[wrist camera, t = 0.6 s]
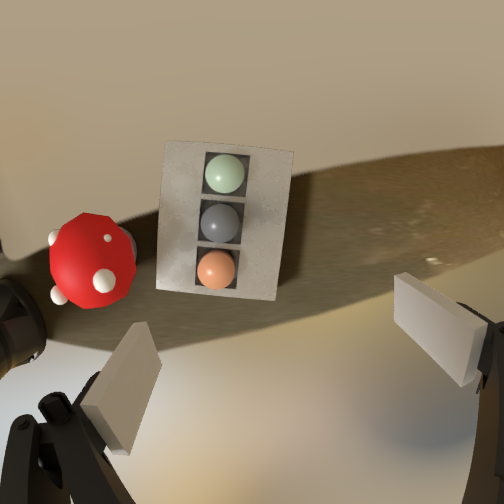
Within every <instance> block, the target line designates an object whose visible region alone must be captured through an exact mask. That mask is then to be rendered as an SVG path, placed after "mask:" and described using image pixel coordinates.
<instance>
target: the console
mask: <svg viewBox="0 0 504 504" xmlns="http://www.w3.org/2000/svg"><path fill="white" fill-rule="evenodd" d="M293 153H294V152H291V151H284V150H276V149H269V148H261V147H252V146H242V145H232V144H220V143H206V142H189V141H166V142H165V151H164V160H163V170H162V180H161V191H160V205H159V220H158V240H157V278H156V289H162V290H170V291H179V292H188V293H197V294H206V295H216V296H226V297H236V298H248V299H259V300H272V301H275V297H276V290H277V283H278V276H279V269H280V261H281V254H282V246H283V239H284V231H285V223H286V215H287V207H288V198H289V190H290V181H291V172H292V163H293ZM224 154H225V155H231V156H234V157H236V158H237V159H238V160H239V161H240V162H241V163H242V165H243V167H244V173H245V174H244V180H243V182H242V184H241V185H240V187H239V188H237V189H236V190H234V191H232V192H229V193H220V192H217V191H215V190H213V189H212V188H211V187H210V186H209V185H208V183H207V181H206V177H205V172H206V167H207V165H208V164H209V162H210V161H211V160H212V159H213V158H215V157H216V156H219V155H224ZM218 203H224V204H228V205H230V206H232V207H233V208H234V209H235V210H236V212H237V213H238V216H239V229H238V232H237V234H236V235H235V236H234V237H233V238H232V239H231V240H229V241H227V242H224V243H216V242H213V241H211V240H209V239H208V238H207V237H206V236H205V235H204V234H203V232H202V229H201V218H202V216H203V214H204V212H205V211H206V210H207V209H208V208H210V207H211V206H213V205H215V204H218ZM214 249H219V250H223V251H226V252H227V253H229V254H230V255H231V257H232V258H233V260H234V263H235V272H234V278H233V280H232V282H231V283H230V284H229V285H228V286H227V287H225V288H222V289H217V290H216V289H210V288H208V287H206V286H205V285H203V284H202V282H201V281H200V280H199V277H198V273H197V269H198V265H199V263H200V261H201V259H202V257H203V256H204V255H205V254H206V253H207V252H209V251H211V250H214Z"/></svg>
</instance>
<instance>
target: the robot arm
mask: <svg viewBox="0 0 504 504" xmlns="http://www.w3.org/2000/svg"><path fill="white" fill-rule="evenodd" d="M394 295H395V296H394V321H395V322H396V323H397V324H398V325H399V326H400V327H401V328H402V329H403V330H404V331H405V332H406V333H407V334H408V335H409V336H410V337H411V338H412V339H413V340H414V341H415V342H416V343H418V344H419V345H420V346H421V347H422V348H423V349H424V350H425V351H426V352H427V353H428V354H429V355H430V356H431V357H432V358H433V359H434V360H435V361H436V362H437V363H438V364H439V365H440V366H441V367H442V368H443V369H444V370H445V371H446V372H447V373H448V374H449V375H450V377H452V379H453V380H455V382H456V383H457V384H458V385H459V386H460V387H463V386H465V385H466V384H468V383H470V382H472V381H474V378H475V375H476V371H477V369H478V370H480V371H481V372H482V376H481V379H480V382H479V385H478V388H477V391H476V394H478V392H479V390H480V397H479V412H478V422H477V431H476V438H475V446H474V451H473V457H472V463H471V468H470V473H469V478H468V481H467V485H466V490H465V493H464V497H463V500H462V504H504V321H503V322H499V323H497V324H495V323H494V322H492V321H491V320H489V319H487V318H486V317H485V316H483V315H481V314H480V313H479V314H478V312H477V311H475V310H473V309H472V308H470V307H469V306H467V305H465V304H462V303H459V302H454V301H453V300H451V299H449V298H448V297H446V296H445V295H443V294H441V293H440V292H438V291H436V290H435V289H433V288H431V287H430V286H428V285H426V284H425V283H423V282H421V281H420V280H418V279H416V278H415V277H413V276H411V275H410V274H408V273H406V272H405V273H401V274H397V275H394ZM45 346H46V330H45V325H44V322H43V319H42V316H41V314H40V312H39V310H38V308H37V306H36V304H35V303H34V301H33V299H32V298H31V297H30V295H29V294H28V293H27V292H26V291H25V290H24V289H23V288H22V287H21V286H20V285H19V284H17V283H16V282H14V281H12V280H8V279H2V280H0V379H1V378H2V377H3V376H4V375H5V374H6V373H7V372H8V371H9V370H10V369H12V368H15V367H17V366H20V365H23V364H26V363H29V362H32V361H34V360H35V359H36V358H37V357H39V356H40V355H41V354H42V352H43V351H44V349H45ZM161 366H162V364H161V361H160V358H159V356H158V353H157V350H156V348H155V345H154V342H153V339H152V336H151V334H150V331H149V328H148V325H147V322H138V323H133V325H132V326H131V327H130V329H129V330H128V332H127V333H126V335H125V336H124V338H123V339H122V341H121V342H120V343H119V345H118V346H117V348H116V349H115V351H114V352H113V354H112V355H111V357H110V358H109V360H108V361H107V363H106V364H105V366H104V367H103V369H102V371H98V372H96V373H95V374H94V375H93V376H92V377H90V379H89V380H88V381H87V383H86V386H84V388H83V389H82V392H80V394H79V395H78V397H77V398H76V400H75V401H74V403H73V404H72V405H71V403H70V401H69V400H68V398H67V396H66V395H65V393H62V392H53V393H50V394H48V395H46V396H45V397H43V398H42V399H41V401H40V402H39V404H38V409H39V410H40V412H41V413H42V415H43V416H44V417H45V419H46V421H47V423H37V421H36V420H35V419H34V417H33V416H32V415H29V414H25V415H22V416H19V417H17V418H16V419H15V420H14V421H13V423H12V425H11V428H10V433H9V437H8V441H7V446H6V451H5V457H4V463H3V468H2V475H1V483H0V504H71V500H70V495H71V498H72V500H73V503H74V504H136V503H135V502H134V500H133V499H132V498H131V496H130V494H129V493H128V491H127V490H126V488H125V487H124V485H123V483H122V482H121V480H120V479H119V477H118V475H117V474H116V472H115V470H114V468H113V466H112V464H111V463H110V461H109V459H108V457H107V456H106V455H105V453H104V449H105V447H106V445H107V447H108V448H109V449H110V450H111V452H112V453H113V454H116V455H117V454H118V455H128V456H129V455H130V452H131V450H132V447H133V443H134V441H135V438H136V435H137V432H138V429H139V426H140V423H141V421H142V417H143V415H144V412H145V409H146V407H147V404H148V401H149V398H150V396H151V393H152V390H153V387H154V385H155V382H156V380H157V377H158V374H159V372H160V369H161Z"/></svg>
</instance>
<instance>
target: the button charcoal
mask: <svg viewBox="0 0 504 504" xmlns="http://www.w3.org/2000/svg"><path fill="white" fill-rule="evenodd" d="M201 229H202V232H203V234H204V235H205V236H206V237H207V238H208V239H209V240H211V241H213V242H216V243H224V242H227V241H229V240H231V239H232V238H233V237H234V236H235V235H236V234H237V232H238V229H239V216H238V213H237V212H236V210H235V209H234V208H233V207H232V206H230V205H228V204H224V203H218V204H215V205H213V206H211V207H210V208H208V209H207V210H206V211H205V212H204V214H203V216H202V218H201Z"/></svg>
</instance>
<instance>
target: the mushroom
mask: <svg viewBox="0 0 504 504" xmlns="http://www.w3.org/2000/svg"><path fill="white" fill-rule="evenodd" d="M48 242H49V245H50V247H49V248H50V272H51V274H52V276H53V278H54V280H55V283H56V285H55V286H54V287H53V288H52V290H51V292H50V293H51V298H52V300H53V302H54V303H56V304H57V305H63V304H65V303H66V302H67V301H68V300H70V301H71V302H73V303H75V304H76V305H78V306H80V307H81V308H83V309H88V308H97V307H105V306H107V305H109V304H111V303H113V302H115V301H117V300H119V299H121V298H123V297H125V296H127V294H128V291H129V288H130V286H131V283H132V281H133V278H134V276H135V273H136V271H137V269H136V264H135V262H136V257H137V247H136V242H135V240H134V239H133V237H132V235H131V234H130V233H129V232H128V231H127V230H126V229H124V228H123V227H119V226H118V225H117V224H116V223H115V222H114V221H113V220H112V219H111V218H110V217H109V216H102V215H95V214H89V213H82V214H80V215H79V216H77V217H75V218H74V219H73V220H71V221H69V222H68V223H66V224H64V225H63V226H62V228H61V229H54V230H53V231H52V232H51V233H50V234H49V236H48Z"/></svg>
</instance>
